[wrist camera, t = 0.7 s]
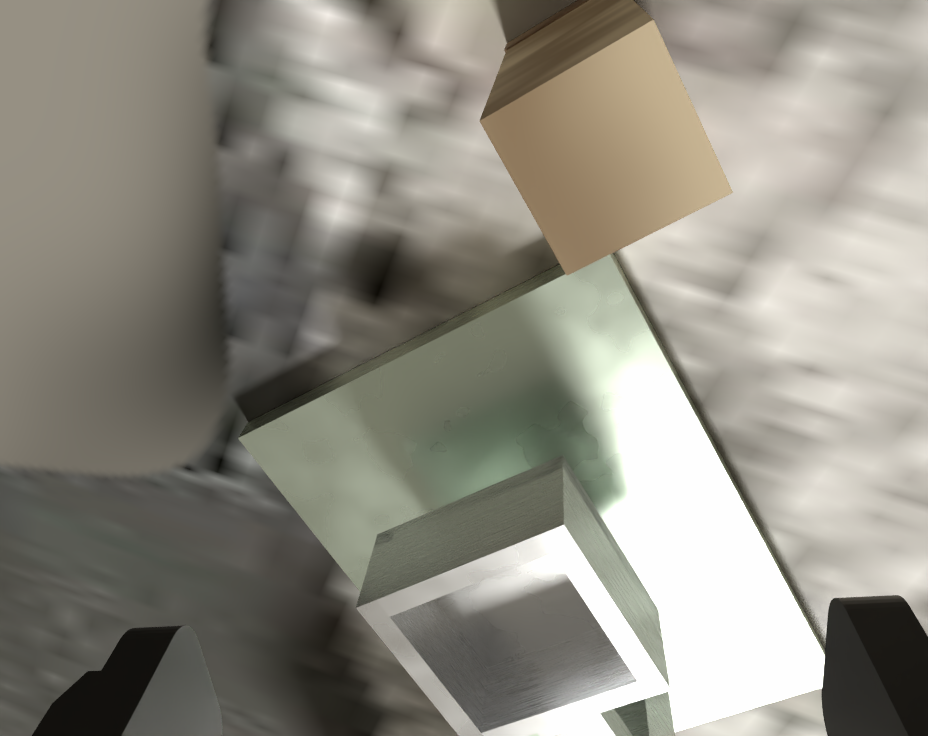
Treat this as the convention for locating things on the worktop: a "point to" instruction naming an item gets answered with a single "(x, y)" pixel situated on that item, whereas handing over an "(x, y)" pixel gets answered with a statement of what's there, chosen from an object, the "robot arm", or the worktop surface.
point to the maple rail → (599, 131)
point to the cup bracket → (544, 521)
